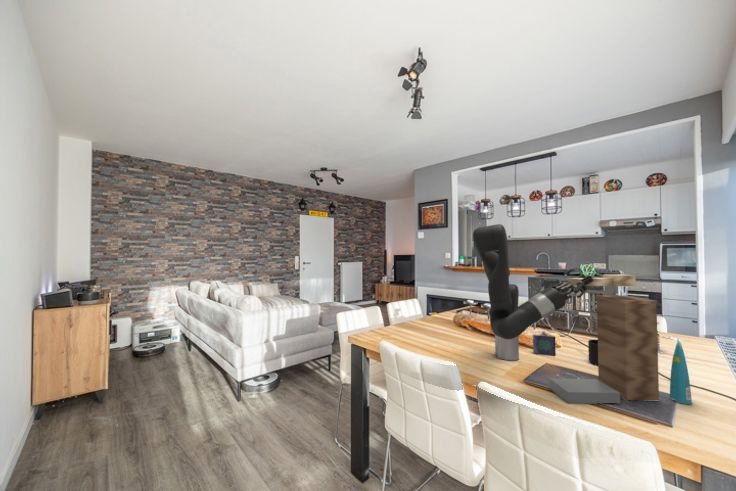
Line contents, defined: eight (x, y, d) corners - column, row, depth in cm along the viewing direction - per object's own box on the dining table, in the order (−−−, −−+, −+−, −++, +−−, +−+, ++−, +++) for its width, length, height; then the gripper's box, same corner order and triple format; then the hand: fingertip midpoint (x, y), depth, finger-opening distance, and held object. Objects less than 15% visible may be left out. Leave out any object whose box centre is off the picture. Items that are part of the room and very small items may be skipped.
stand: (626, 401, 94) (624, 300, 94) (597, 383, 106) (595, 295, 107) (660, 401, 93) (658, 300, 94) (627, 384, 106) (625, 295, 107)
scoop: (575, 286, 98) (575, 276, 98) (563, 284, 104) (563, 275, 104) (635, 286, 98) (635, 275, 98) (620, 284, 104) (620, 274, 104)
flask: (533, 354, 138) (533, 331, 138) (532, 352, 141) (532, 329, 141) (556, 356, 135) (556, 332, 135) (554, 354, 138) (554, 331, 138)
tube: (668, 394, 98) (666, 336, 99) (689, 398, 95) (687, 339, 96) (671, 402, 93) (669, 341, 93) (694, 408, 90) (692, 344, 90)
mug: (629, 368, 121) (628, 345, 121) (600, 368, 121) (600, 346, 121) (609, 359, 130) (609, 339, 131) (583, 360, 130) (582, 339, 130)
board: (568, 403, 92) (568, 392, 92) (549, 388, 102) (549, 378, 102) (620, 404, 92) (620, 392, 92) (596, 389, 102) (596, 379, 102)
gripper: (539, 308, 108) (579, 284, 108) (564, 317, 94) (610, 289, 94) (528, 291, 108) (568, 267, 108) (552, 296, 94) (598, 269, 94)
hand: (588, 277), depth 101 cm, fingers closed on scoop, 2 cm apart
